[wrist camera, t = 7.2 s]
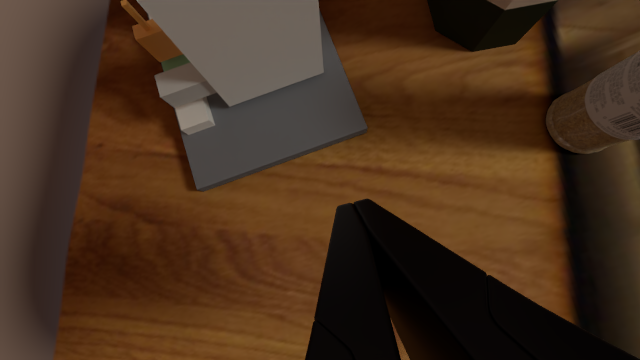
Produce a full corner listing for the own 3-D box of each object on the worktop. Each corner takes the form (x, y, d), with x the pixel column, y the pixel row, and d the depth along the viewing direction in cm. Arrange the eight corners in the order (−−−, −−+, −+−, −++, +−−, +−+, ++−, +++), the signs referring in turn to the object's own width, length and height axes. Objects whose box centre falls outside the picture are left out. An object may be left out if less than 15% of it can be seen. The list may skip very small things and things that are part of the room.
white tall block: (323, 72, 20) (312, -77, 10) (189, 121, 20) (47, 18, 10) (314, 48, 20) (294, -119, 11) (182, 96, 20) (37, -27, 11)
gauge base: (366, 132, 21) (406, 7, 9) (203, 191, 21) (27, 144, 9) (291, -53, 24) (246, -333, 12) (148, -2, 24) (-41, -231, 12)
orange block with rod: (184, 53, 20) (141, 4, 15) (159, 62, 20) (109, 15, 15) (180, 41, 20) (137, -11, 16) (156, 50, 20) (106, 0, 15)
